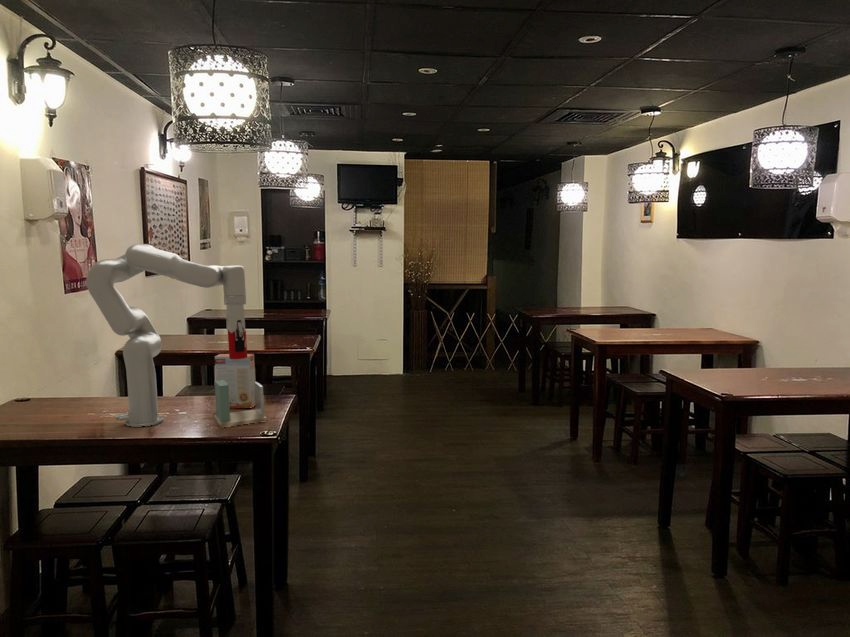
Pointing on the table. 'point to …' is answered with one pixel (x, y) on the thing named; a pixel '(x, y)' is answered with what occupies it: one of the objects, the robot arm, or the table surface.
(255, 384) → the grey metal plate
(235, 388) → the cracker box
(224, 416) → the grey green slab
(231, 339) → the beverage can
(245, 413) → the shelf board
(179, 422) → the table surface
